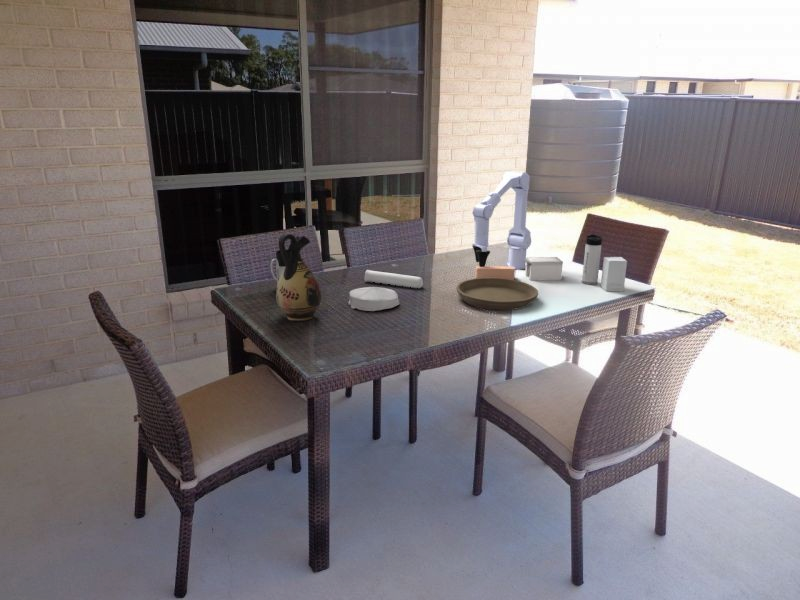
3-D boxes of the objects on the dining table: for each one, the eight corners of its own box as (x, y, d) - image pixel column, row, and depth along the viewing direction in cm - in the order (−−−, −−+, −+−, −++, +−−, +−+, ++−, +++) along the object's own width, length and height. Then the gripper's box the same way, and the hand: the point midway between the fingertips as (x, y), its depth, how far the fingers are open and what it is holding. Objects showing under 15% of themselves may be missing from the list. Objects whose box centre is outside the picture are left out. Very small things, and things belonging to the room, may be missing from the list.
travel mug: (595, 280, 258) (600, 234, 251) (598, 285, 251) (604, 237, 245) (580, 280, 258) (585, 234, 252) (583, 284, 252) (588, 237, 246)
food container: (341, 299, 233) (340, 282, 230) (389, 293, 239) (389, 277, 237) (356, 316, 215) (356, 298, 213) (408, 309, 222) (408, 291, 219)
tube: (425, 277, 248) (370, 270, 257) (421, 276, 243) (365, 269, 252) (423, 290, 248) (368, 282, 257) (419, 289, 243) (363, 281, 252)
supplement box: (624, 291, 243) (627, 261, 239) (605, 291, 243) (608, 260, 239) (618, 286, 250) (621, 256, 246) (600, 286, 250) (603, 256, 246)
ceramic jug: (301, 307, 222) (297, 226, 213) (331, 316, 213) (328, 232, 204) (264, 319, 210) (258, 233, 200) (294, 329, 200) (289, 240, 191)
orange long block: (475, 277, 263) (476, 266, 262) (512, 277, 262) (513, 266, 261) (476, 279, 259) (476, 268, 258) (513, 280, 259) (514, 269, 257)
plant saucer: (553, 300, 232) (554, 289, 231) (503, 318, 212) (504, 306, 211) (490, 283, 254) (490, 272, 252) (439, 298, 234) (439, 287, 232)
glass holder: (302, 286, 247) (300, 250, 243) (282, 295, 235) (279, 258, 230) (284, 283, 251) (282, 248, 246) (263, 292, 238) (261, 255, 234)
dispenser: (522, 275, 266) (523, 257, 263) (555, 274, 267) (556, 257, 264) (527, 280, 258) (528, 262, 255) (561, 279, 259) (563, 261, 256)
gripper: (469, 229, 261) (468, 260, 265) (475, 236, 247) (474, 268, 251) (485, 229, 261) (484, 259, 266) (492, 236, 248) (490, 268, 252)
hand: (480, 264), depth 259 cm, fingers open, 7 cm apart
